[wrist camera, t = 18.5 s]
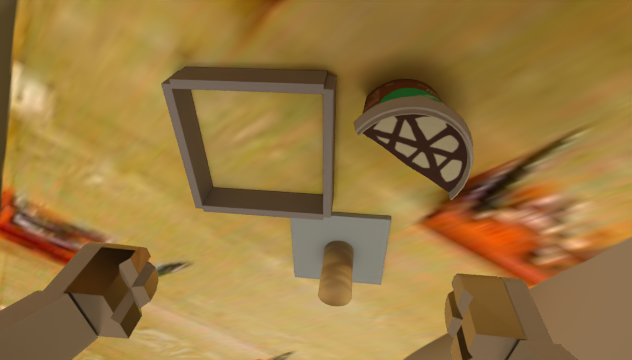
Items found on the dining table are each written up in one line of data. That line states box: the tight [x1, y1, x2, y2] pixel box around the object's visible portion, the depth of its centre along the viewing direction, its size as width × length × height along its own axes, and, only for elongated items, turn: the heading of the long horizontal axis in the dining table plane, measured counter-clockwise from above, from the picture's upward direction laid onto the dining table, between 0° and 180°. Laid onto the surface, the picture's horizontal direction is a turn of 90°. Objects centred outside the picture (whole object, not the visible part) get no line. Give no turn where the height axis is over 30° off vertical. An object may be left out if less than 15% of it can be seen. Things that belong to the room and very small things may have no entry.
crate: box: [161, 67, 336, 220], centre depth 42 cm, size 18×18×4 cm
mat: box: [291, 212, 391, 285], centre depth 53 cm, size 14×14×1 cm
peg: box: [318, 241, 353, 306], centre depth 49 cm, size 4×4×8 cm
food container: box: [354, 79, 473, 200], centre depth 34 cm, size 12×6×10 cm, turn 56°
